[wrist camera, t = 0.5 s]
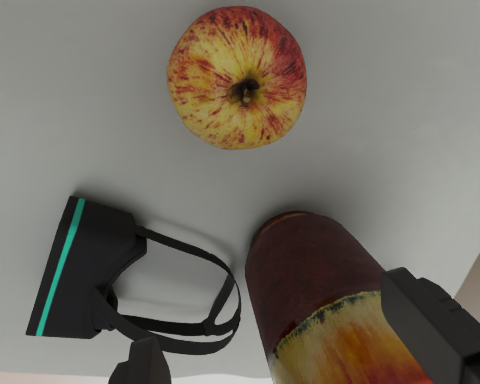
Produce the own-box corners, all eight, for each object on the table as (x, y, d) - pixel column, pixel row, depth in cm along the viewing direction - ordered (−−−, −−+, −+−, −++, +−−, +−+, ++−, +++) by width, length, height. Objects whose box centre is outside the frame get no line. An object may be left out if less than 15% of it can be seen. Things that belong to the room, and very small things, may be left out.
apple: (301, 57, 28) (359, 62, 19) (245, 151, 31) (273, 195, 21) (204, -11, 25) (218, -43, 16) (150, 98, 28) (135, 124, 18)
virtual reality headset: (71, 191, 29) (44, 261, 20) (244, 236, 36) (279, 303, 27) (40, 293, 32) (5, 391, 24) (204, 316, 39) (224, 399, 30)
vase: (361, 216, 35) (737, 568, 11) (315, 301, 39) (532, 707, 15) (263, 187, 32) (498, 581, 8) (223, 281, 36) (310, 752, 12)
